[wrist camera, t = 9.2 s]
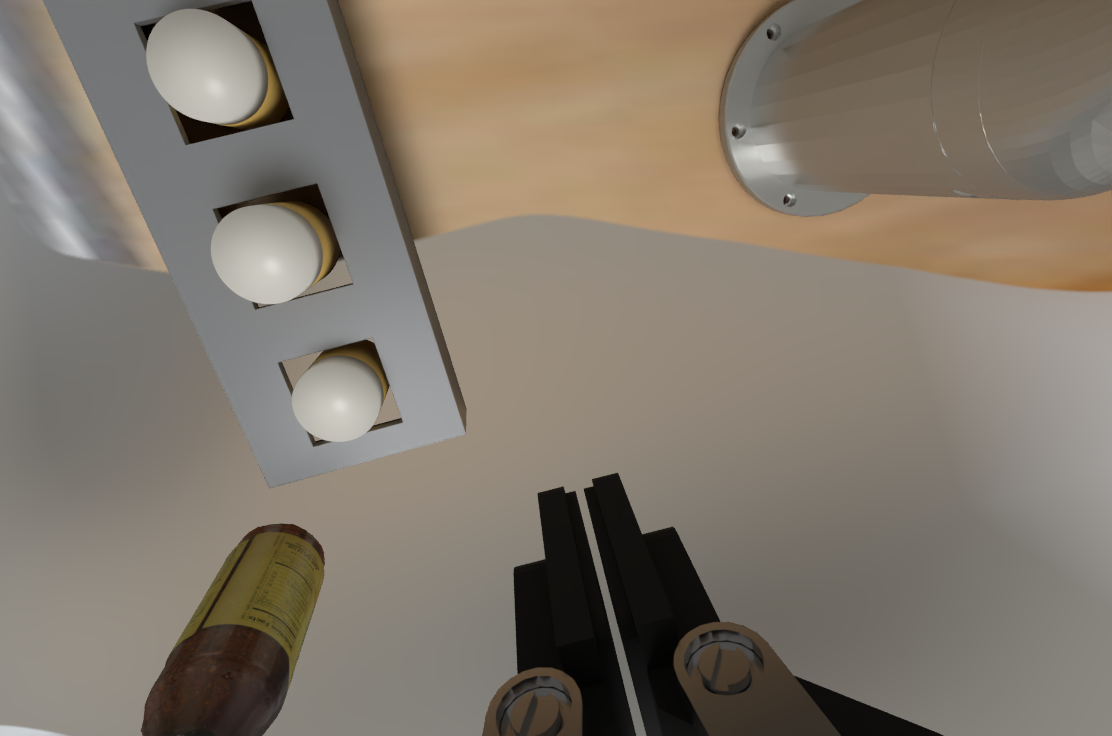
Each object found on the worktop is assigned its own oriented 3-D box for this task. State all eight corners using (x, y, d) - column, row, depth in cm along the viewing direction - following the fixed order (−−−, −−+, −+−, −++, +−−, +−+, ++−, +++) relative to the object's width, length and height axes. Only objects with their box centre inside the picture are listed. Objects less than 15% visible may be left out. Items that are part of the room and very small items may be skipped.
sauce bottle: (260, 605, 42) (88, 953, 23) (218, 534, 40) (-8, 855, 21) (348, 575, 42) (250, 896, 23) (312, 503, 40) (170, 793, 21)
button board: (326, -34, 31) (305, -65, 27) (466, 408, 39) (465, 434, 35) (96, 18, 30) (40, -5, 26) (289, 457, 39) (269, 488, 35)
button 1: (271, 27, 31) (231, -3, 26) (304, 119, 32) (272, 108, 27) (185, 48, 31) (127, 22, 25) (222, 139, 32) (174, 132, 27)
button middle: (322, 191, 32) (293, 194, 27) (351, 273, 34) (329, 290, 28) (238, 212, 32) (193, 219, 27) (271, 293, 33) (235, 315, 28)
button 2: (378, 329, 37) (363, 354, 31) (401, 395, 38) (390, 429, 33) (306, 348, 36) (278, 376, 31) (332, 413, 38) (310, 451, 33)
